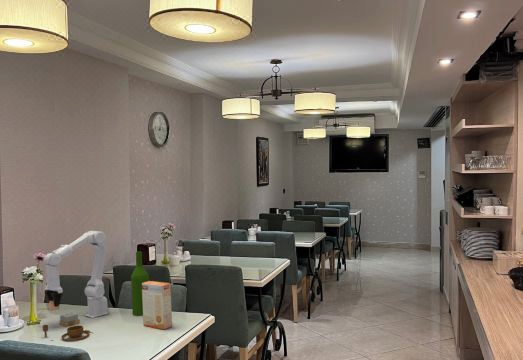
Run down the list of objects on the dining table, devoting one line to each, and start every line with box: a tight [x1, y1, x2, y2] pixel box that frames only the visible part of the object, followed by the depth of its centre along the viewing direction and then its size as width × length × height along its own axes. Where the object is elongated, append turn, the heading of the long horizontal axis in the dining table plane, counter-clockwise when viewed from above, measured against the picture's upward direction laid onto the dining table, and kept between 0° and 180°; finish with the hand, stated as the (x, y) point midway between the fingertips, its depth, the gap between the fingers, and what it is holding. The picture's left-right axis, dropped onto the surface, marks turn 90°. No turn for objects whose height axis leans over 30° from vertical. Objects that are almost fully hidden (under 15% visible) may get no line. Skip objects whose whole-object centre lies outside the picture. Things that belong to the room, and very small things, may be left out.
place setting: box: [42, 324, 93, 342], centre depth 227 cm, size 18×20×6 cm
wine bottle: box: [130, 250, 150, 317], centre depth 259 cm, size 9×9×32 cm
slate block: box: [59, 312, 79, 322], centre depth 245 cm, size 6×6×2 cm
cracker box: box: [142, 280, 173, 331], centre depth 236 cm, size 14×6×21 cm, turn 55°
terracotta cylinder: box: [48, 300, 60, 311], centre depth 242 cm, size 4×4×4 cm
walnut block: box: [58, 318, 81, 328], centre depth 245 cm, size 7×7×2 cm
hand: (54, 305), depth 242 cm, fingers closed on terracotta cylinder, 4 cm apart
